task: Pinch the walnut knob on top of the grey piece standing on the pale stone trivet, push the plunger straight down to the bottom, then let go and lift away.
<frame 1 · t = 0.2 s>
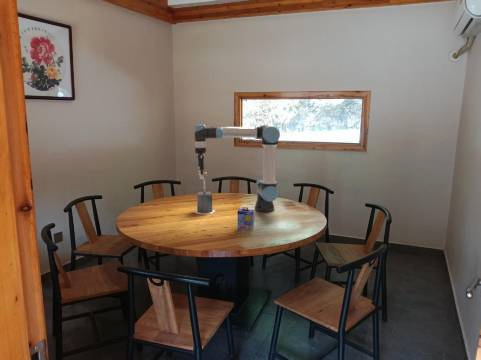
hand: (201, 177, 259), 29 cm above the table, fingers open, 13 cm apart
trivet: (204, 212, 276), on the table
grey piece: (204, 211, 276), resting on trivet
ink cartridge box: (245, 228, 238), on the table
plunger: (204, 185, 272), point 21 cm above the table, slide at 0.0 cm
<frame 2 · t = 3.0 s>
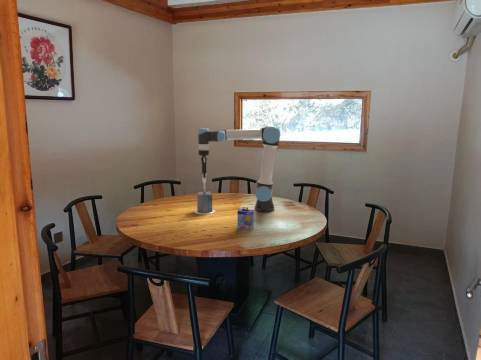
hand: (204, 181, 272), 24 cm above the table, fingers closed on plunger, 4 cm apart
plunger: (204, 185, 272), point 21 cm above the table, slide at 0.0 cm, touching gripper
everything else where it was.
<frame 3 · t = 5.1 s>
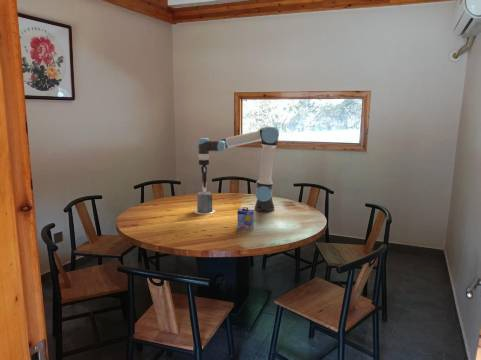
hand: (204, 190, 273), 17 cm above the table, fingers closed on plunger, 4 cm apart
plunger: (204, 194, 274), point 14 cm above the table, slide at 7.0 cm, touching gripper
everything else where it was.
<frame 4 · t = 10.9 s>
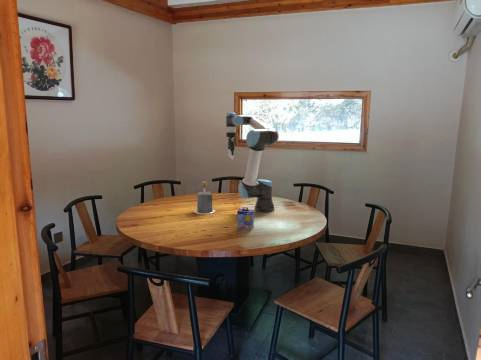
hand: (231, 158, 301), 37 cm above the table, fingers open, 13 cm apart
plunger: (204, 194, 274), point 14 cm above the table, slide at 7.0 cm
everything else where it was.
at the end: plunger slide at 7.0 cm; the gripper is holding nothing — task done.
